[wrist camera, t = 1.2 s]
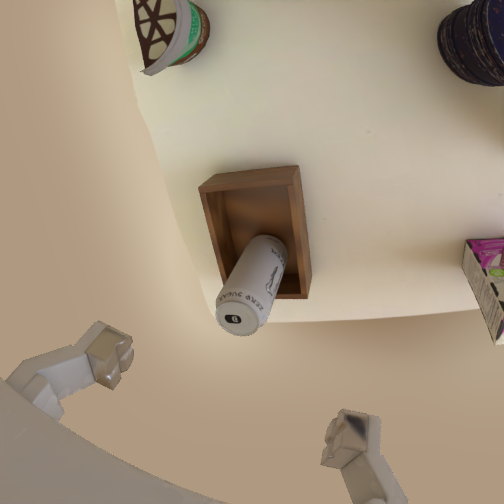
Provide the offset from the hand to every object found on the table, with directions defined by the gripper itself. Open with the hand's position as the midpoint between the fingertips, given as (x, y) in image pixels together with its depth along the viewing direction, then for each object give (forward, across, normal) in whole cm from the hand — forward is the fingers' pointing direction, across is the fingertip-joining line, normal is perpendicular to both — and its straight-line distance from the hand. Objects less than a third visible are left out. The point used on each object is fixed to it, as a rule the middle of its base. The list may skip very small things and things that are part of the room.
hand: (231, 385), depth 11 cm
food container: (+33, +19, -15) cm, 41 cm away
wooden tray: (+33, +4, +11) cm, 35 cm away
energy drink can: (+33, +3, +14) cm, 36 cm away
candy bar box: (+33, -29, +3) cm, 44 cm away
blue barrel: (+33, -15, -22) cm, 42 cm away
